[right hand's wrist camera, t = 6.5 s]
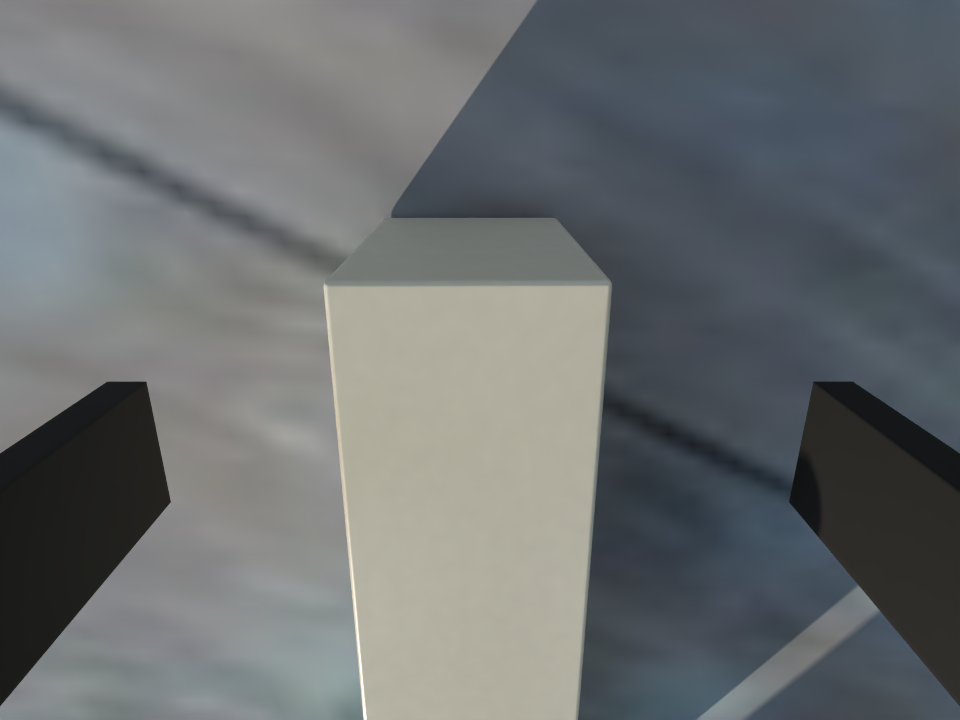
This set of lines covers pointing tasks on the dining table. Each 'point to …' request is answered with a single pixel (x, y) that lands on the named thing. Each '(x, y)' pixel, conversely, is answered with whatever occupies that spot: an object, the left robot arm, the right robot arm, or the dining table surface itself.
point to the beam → (469, 462)
